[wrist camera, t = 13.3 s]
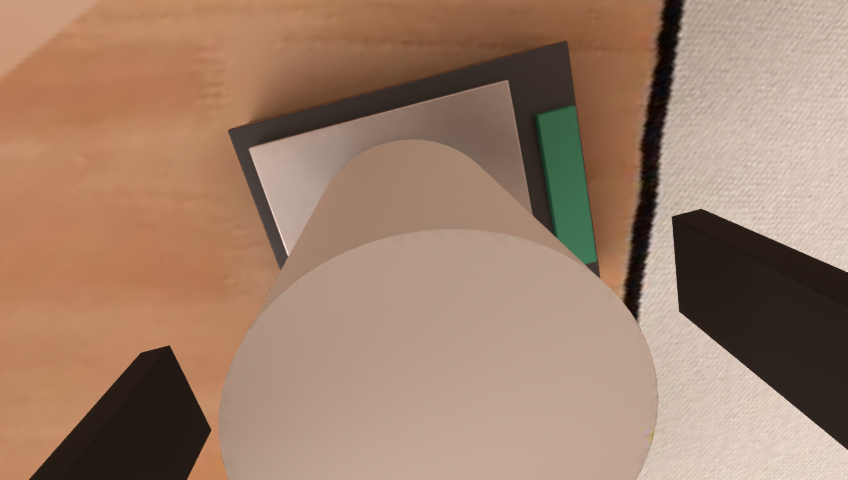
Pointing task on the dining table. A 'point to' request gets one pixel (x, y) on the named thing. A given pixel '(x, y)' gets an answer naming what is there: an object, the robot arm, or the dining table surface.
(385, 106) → the scale
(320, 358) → the white cylinder
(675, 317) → the dining table surface
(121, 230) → the dining table surface
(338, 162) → the scale pan
